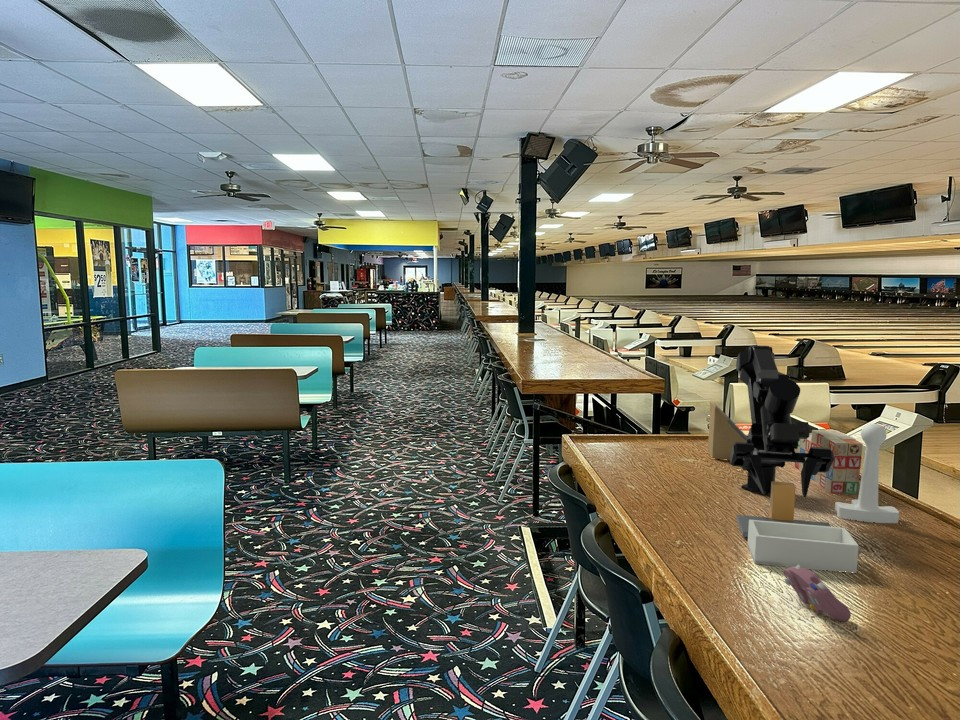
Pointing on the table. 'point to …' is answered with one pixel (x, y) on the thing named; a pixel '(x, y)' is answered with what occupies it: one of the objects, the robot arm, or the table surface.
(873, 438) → the joystick
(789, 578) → the video game controller
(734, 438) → the sandwich container
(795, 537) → the tub
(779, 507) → the lid
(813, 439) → the stack of blocks
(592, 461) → the table surface
